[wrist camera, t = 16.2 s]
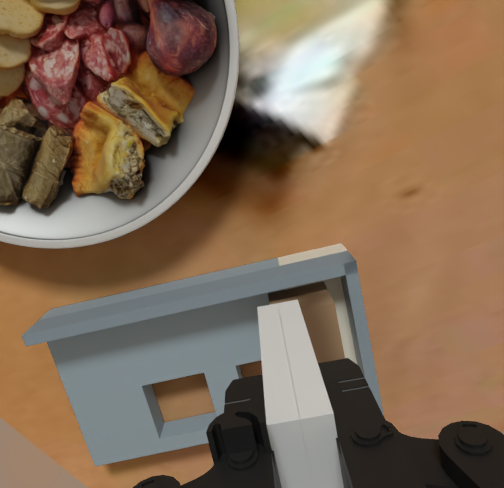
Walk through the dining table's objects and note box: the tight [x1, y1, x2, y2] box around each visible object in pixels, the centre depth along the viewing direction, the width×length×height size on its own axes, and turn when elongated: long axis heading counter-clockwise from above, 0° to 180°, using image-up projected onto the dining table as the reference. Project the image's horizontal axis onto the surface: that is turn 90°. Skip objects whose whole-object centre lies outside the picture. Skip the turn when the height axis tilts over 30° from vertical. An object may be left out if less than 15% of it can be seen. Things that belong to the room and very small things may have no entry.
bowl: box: [0, 0, 239, 249], centre depth 32 cm, size 30×30×8 cm
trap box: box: [22, 243, 384, 466], centre depth 40 cm, size 28×16×6 cm, turn 103°
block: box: [268, 282, 345, 363], centre depth 37 cm, size 5×5×5 cm
